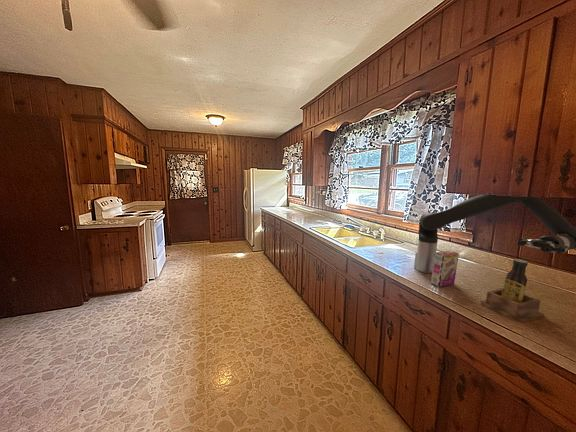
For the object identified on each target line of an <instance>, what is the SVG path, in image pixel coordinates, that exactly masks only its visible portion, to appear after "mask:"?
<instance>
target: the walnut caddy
mask: <svg viewBox="0 0 576 432" xmlns="http://www.w3.org/2000/svg"><path fill="white" fill-rule="evenodd" d="M502 291H503V287H500V288H498V289H493V290H489V291H487V293H486V298H485V300H482V301H480V305H482V306H484V307H486V308H489V309H491V310H494V311H496V312H497V313H500V314H502V315H505V316H506V317H509V318H511V319H512V320H515V321H518V322H520V323H522V324H524V323H526V322H529V321H532V320H535V319H537V318H540V317H543V316H544V312H543V311H540V304H541V300H542V299H539V298H537V297H533V296H531V295H529V294H525V293H524V296H523V300H522V303H517V302H515V301H512V300H510V299H507V298H505V297H502V296H501V295H502Z"/></svg>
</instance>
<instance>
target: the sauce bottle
mask: <svg viewBox="0 0 576 432" xmlns="http://www.w3.org/2000/svg"><path fill="white" fill-rule="evenodd" d="M512 260H513V261H512V263H513V265H512V268H511V269H510V271H509V272H507V275H506V277H505V280H504V283H503V287H502V288H503V291H502V295H501V296H502V297H505V298H507V299H510V300H512V301H515V302H517V303H522V300H523V296H524V294H525V291H526V289H527V284H528V283H527V282H528V278H527V276H526V269H527V266H528V263H529V262H528V260H527V261H526V260H523V259H517V258H515V259H512Z"/></svg>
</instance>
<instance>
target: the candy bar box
mask: <svg viewBox="0 0 576 432" xmlns="http://www.w3.org/2000/svg"><path fill="white" fill-rule="evenodd" d="M459 254H460V253H459V252H456V251H452V250H444V251H436V252H435V255H434V262H433V269H432V273H431V278H430V284H431V285H433V286H435V287H437V288H442V287H446V286H451V285H455V280H456V273H457V269H458V268H457V267H458V262H459Z"/></svg>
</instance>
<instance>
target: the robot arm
mask: <svg viewBox="0 0 576 432" xmlns="http://www.w3.org/2000/svg"><path fill="white" fill-rule="evenodd" d="M518 202H520V204H523V206H525V207H526V208H527V209H528V210H530V212H531V213H532V214H533V215H534V216H535V217H536V218H537V219H538V220H539V221H540V222H541V223H542V224H543V225H544V226H545V228H547V229H548V231H549V232H551V233H552V234H550V235H549V234H548V235H543V236H541V237H539V238H538V239H534V238H529V237H522V238H521V237H519V238H518V239H517V243H516V245H517V246H519V247H525V246H526V247H528V248H534V249H537V250H539V251H541V252H543V253H546V254H552V253H557V254H565V253H568V251H571V250H570V249H572V250H575V249H574V248H576V227H575V226H574V225H572V224H571V223H570V222H569V221H568V220H567V219H565V217H564V216H562V214H561V213H559V212H558V211H557V210H556V209H554V208H553V207H552V206H550V205H549V204H547V203H546V202H544V201H543V200H542V199H541V198H540V197H539V198H533V197H510V196H496V195H491V194H489V195H483V194H480V195H476V196H472V197H471V198H470V197H469V198H467V199H464V200H463V201H460V202H458V203H457V204H455V205H453V206H452V207H450V208H448V209H445V210H441V211H437V212H435V213H434V212H431V211H429V212H427V211H426V212H425V213H423V214H422V215H421V216H420V217H419V218H420V219H419V224H418V242H417V251H416V252H415V255H414V263H413V268H414V269H415V270H416V271H417V272H421V273H425V274H432V269H433V262H434V255H435V252H437V249H438V243H439V242H438V240H439V236H438V229H441V228H443V227H445V226H447V225H451V224H453V223H455V222H459V221H463V220H466V219H469V218H473V217H476V216H479V215H482V214H485V213H487V212H491V211H493V210H496V209H499V208H502V207H504V206H506V205H509V204H514V203H518Z"/></svg>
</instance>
